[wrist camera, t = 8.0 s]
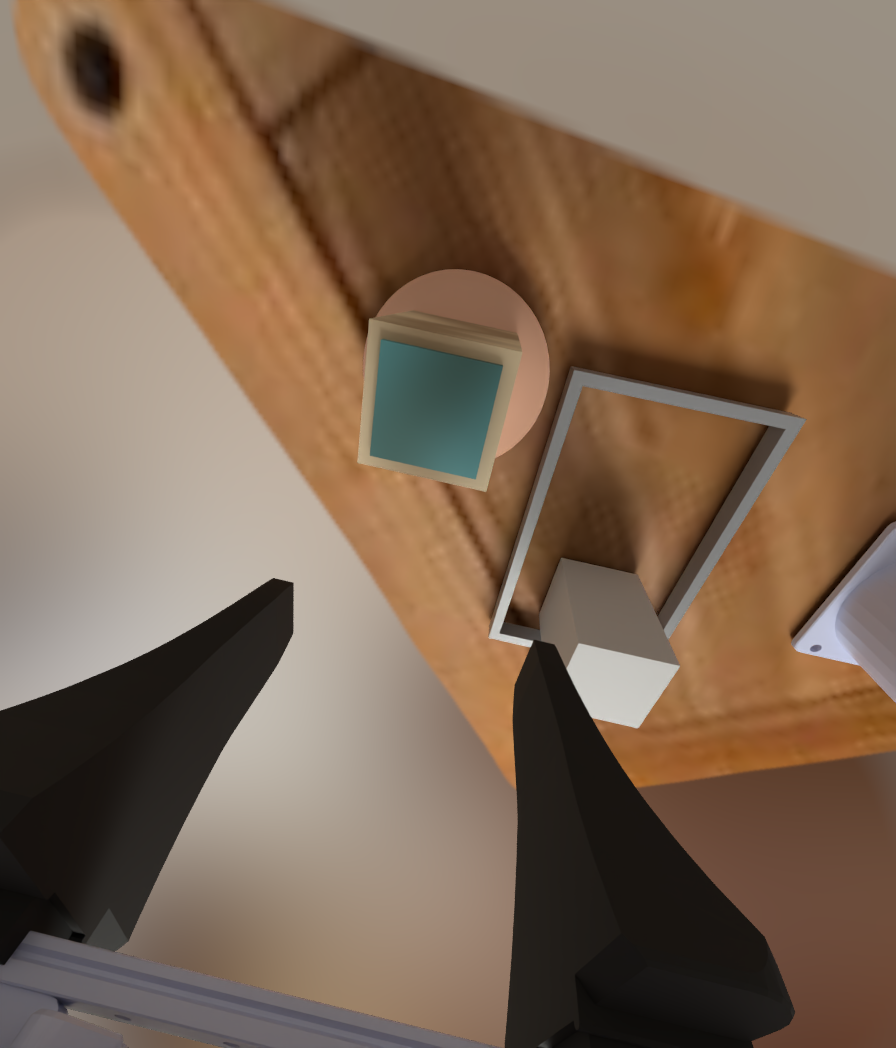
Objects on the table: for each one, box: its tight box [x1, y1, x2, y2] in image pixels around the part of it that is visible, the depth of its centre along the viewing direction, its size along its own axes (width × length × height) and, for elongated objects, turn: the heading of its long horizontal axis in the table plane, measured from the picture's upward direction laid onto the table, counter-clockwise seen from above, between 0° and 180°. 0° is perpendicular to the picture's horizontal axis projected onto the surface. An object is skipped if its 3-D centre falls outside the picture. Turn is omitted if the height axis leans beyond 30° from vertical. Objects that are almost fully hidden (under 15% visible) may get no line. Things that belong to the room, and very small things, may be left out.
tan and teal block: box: [358, 310, 522, 492], centre depth 14 cm, size 4×4×6 cm
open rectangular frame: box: [489, 366, 806, 647], centre depth 20 cm, size 9×14×1 cm, turn 170°
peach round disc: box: [363, 269, 550, 458], centre depth 17 cm, size 8×8×1 cm
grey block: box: [539, 558, 680, 728], centre depth 20 cm, size 4×4×6 cm
